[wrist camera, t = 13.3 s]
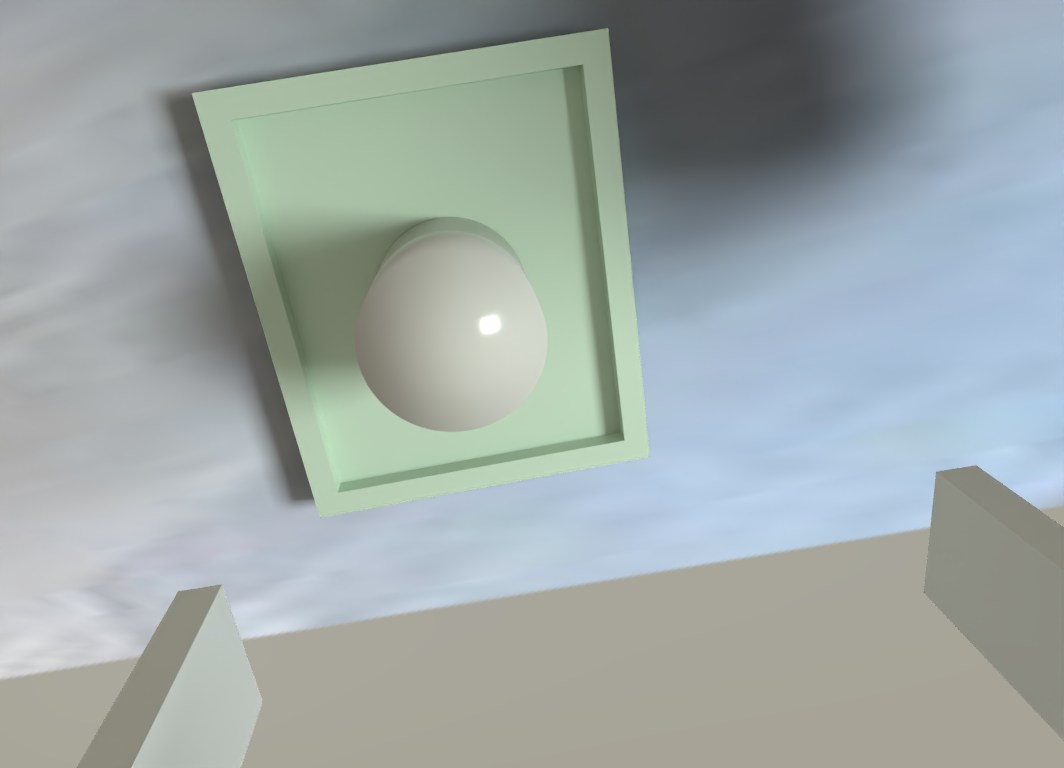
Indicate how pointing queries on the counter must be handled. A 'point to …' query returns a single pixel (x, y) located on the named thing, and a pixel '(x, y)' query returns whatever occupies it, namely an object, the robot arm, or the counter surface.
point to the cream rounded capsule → (451, 327)
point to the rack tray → (414, 197)
